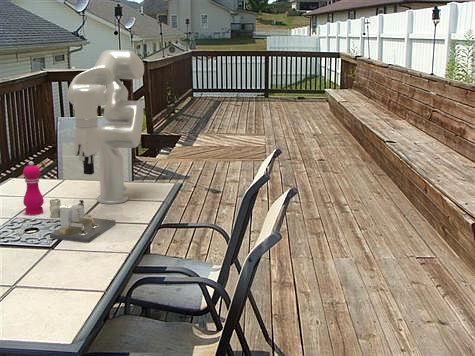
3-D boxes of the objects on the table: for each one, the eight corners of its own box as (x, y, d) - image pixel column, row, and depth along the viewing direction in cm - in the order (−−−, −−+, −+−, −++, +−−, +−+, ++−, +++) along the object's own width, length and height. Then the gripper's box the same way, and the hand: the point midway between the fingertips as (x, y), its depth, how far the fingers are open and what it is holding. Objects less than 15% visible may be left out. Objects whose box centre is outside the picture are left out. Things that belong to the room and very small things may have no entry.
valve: (48, 219, 211) (81, 219, 212) (47, 202, 210) (80, 202, 211) (52, 214, 218) (84, 214, 219) (51, 197, 216) (83, 197, 217)
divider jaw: (75, 222, 203) (74, 204, 201) (96, 224, 201) (95, 207, 199) (70, 224, 200) (69, 207, 199) (92, 227, 198) (91, 209, 197)
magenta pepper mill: (48, 211, 221) (45, 160, 216) (36, 216, 214) (32, 163, 210) (32, 209, 223) (29, 158, 218) (20, 214, 217) (16, 162, 212)
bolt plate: (80, 220, 211) (79, 196, 209) (115, 224, 208) (114, 200, 206) (50, 238, 192) (48, 212, 190) (88, 242, 189) (87, 216, 187)
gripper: (87, 119, 209) (89, 167, 214) (65, 126, 195) (68, 178, 200) (106, 120, 208) (108, 169, 213) (85, 127, 194) (88, 180, 199)
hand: (89, 173), depth 206 cm, fingers closed
